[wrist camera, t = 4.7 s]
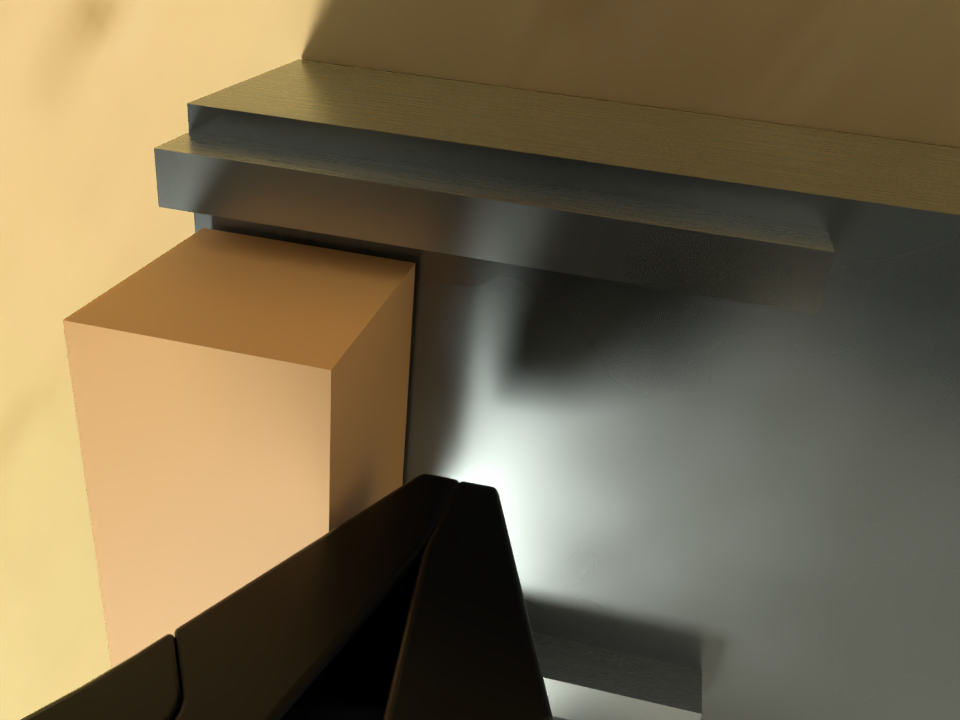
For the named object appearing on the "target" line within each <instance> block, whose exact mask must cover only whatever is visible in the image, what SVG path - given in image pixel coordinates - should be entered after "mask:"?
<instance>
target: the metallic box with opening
mask: <svg viewBox="0 0 960 720" xmlns="http://www.w3.org/2000/svg"><path fill="white" fill-rule="evenodd" d="M187 106H188V122H189V133H187V134H184V135H182V136H180V137H178V138H176V139H173V140H171V141H169V142H167V143H165V144H162V145H160V146H158V147H156V148H154V153H155V165H156V178H157V190H158V203H159V207H164V208H170V209H176V210H182V211H188V212H194V220H195V233H196V232H198V231H200V230H201V229H203V228H207V229H213V230H219V231H225V232H231V233H237V234H243V235H249V236H255V237H261V238H267V239H273V240H279V241H285V242H292V243H298V244H304V245H310V246H316V247H322V248H328V249H334V250H340V251H346V252H352V253H358V254H364V255H370V256H376V257H382V258H388V259H394V260H400V261H406V262H412V263H415V279H414V296H413V313H412V330H411V347H410V364H409V381H408V398H407V415H406V431H405V448H404V465H403V482H402V485H404V484H406V483H407V482H409V481H410V480H412V479H413V478H415V477H417V476H418V475H421V474H431V475H436V476H441V477H446V478H451V479H455V480H457V481H458V482H462V481H466V482H471V483H476V484H481V485H486V486H491V487H494V488H496V489H497V491H498V493H499V497H500V501H501V505H502V509H503V513H504V517H505V521H506V526H507V530H508V534H509V538H510V542H511V546H512V550H513V554H514V559H515V563H516V567H517V571H518V575H519V579H520V583H521V588H522V592H523V596H524V600H525V604H526V608H527V612H528V617H529V621H530V625H531V629H532V633H533V637H534V641H535V646H536V650H537V654H538V658H539V662H540V666H541V670H542V675H543V679H544V683H545V687H546V691H547V695H548V699H549V704H550V708H551V712H552V716H553V720H960V148H954V147H947V146H940V145H932V144H925V143H917V142H910V141H902V140H895V139H887V138H880V137H872V136H865V135H858V134H850V133H843V132H835V131H828V130H820V129H813V128H805V127H798V126H791V125H783V124H776V123H768V122H761V121H753V120H746V119H738V118H731V117H723V116H716V115H709V114H701V113H694V112H686V111H679V110H671V109H664V108H656V107H649V106H641V105H634V104H627V103H619V102H612V101H604V100H597V99H589V98H582V97H574V96H567V95H560V94H552V93H545V92H537V91H530V90H522V89H515V88H507V87H500V86H492V85H485V84H478V83H470V82H463V81H455V80H448V79H440V78H433V77H425V76H418V75H411V74H403V73H396V72H388V71H381V70H373V69H366V68H358V67H351V66H343V65H336V64H329V63H321V62H314V61H306V60H297V61H294V62H292V63H289V64H286V65H284V66H281V67H279V68H276V69H274V70H271V71H269V72H266V73H264V74H261V75H259V76H256V77H253V78H251V79H248V80H246V81H243V82H241V83H238V84H236V85H233V86H231V87H228V88H225V89H223V90H220V91H218V92H215V93H213V94H210V95H208V96H205V97H203V98H200V99H198V100H195V101H192V102H190V103H187Z"/></svg>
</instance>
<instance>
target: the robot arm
mask: <svg viewBox="0 0 960 720" xmlns="http://www.w3.org/2000/svg"><path fill="white" fill-rule="evenodd" d="M21 720H553V716H552V712H551V708H550V704H549V699H548V695H547V691H546V687H545V683H544V679H543V675H542V670H541V666H540V662H539V658H538V654H537V650H536V646H535V641H534V637H533V633H532V629H531V625H530V621H529V617H528V612H527V608H526V604H525V600H524V596H523V592H522V588H521V583H520V579H519V575H518V571H517V567H516V563H515V559H514V554H513V550H512V546H511V542H510V538H509V534H508V530H507V526H506V521H505V517H504V513H503V509H502V505H501V501H500V497H499V493H498V491H497V489H496V488H494V487H491V486H486V485H481V484H476V483H471V482H466V481H462V482H458V481H457V480H455V479H451V478H446V477H441V476H436V475H431V474H421V475H418V476H417V477H415V478H413V479H412V480H410V481H409V482H407V483H406V484H404V485H402V486H401V487H399V488H398V489H396V490H395V491H393V492H391V493H390V494H388V495H387V496H385V497H383V498H382V499H380V500H379V501H377V502H376V503H374V504H372V505H371V506H369V507H368V508H366V509H365V510H363V511H361V512H360V513H358V514H357V515H355V516H353V517H352V518H350V519H349V520H347V521H346V522H344V523H342V524H341V525H339V526H338V527H336V528H335V529H333V530H331V531H330V532H328V533H327V534H325V535H323V536H322V537H320V538H319V539H317V540H316V541H314V542H312V543H311V544H309V545H308V546H306V547H305V548H303V549H301V550H300V551H298V552H297V553H295V554H293V555H292V556H290V557H289V558H287V559H286V560H284V561H282V562H281V563H279V564H278V565H276V566H275V567H273V568H271V569H270V570H268V571H267V572H265V573H263V574H262V575H260V576H259V577H257V578H256V579H254V580H252V581H251V582H249V583H248V584H246V585H245V586H243V587H241V588H240V589H238V590H237V591H235V592H234V593H232V594H230V595H229V596H227V597H226V598H224V599H222V600H221V601H219V602H218V603H216V604H215V605H213V606H211V607H210V608H208V609H207V610H205V611H204V612H202V613H200V614H199V615H197V616H196V617H194V618H192V619H191V620H189V621H188V622H186V623H185V624H183V625H181V626H180V627H178V628H177V629H176V630H175V632H174V636H173V635H172V634H167V635H165V636H163V637H162V638H160V639H159V640H157V641H156V642H154V643H152V644H151V645H149V646H148V647H146V648H145V649H143V650H141V651H140V652H138V653H137V654H135V655H133V656H132V657H130V658H128V659H127V660H125V661H123V662H122V663H120V664H118V665H117V666H115V667H113V668H112V669H110V670H108V671H107V672H105V673H103V674H102V675H100V676H98V677H97V678H95V679H93V680H92V681H90V682H88V683H87V684H85V685H83V686H82V687H80V688H78V689H76V690H74V691H72V692H71V693H69V694H67V695H65V696H63V697H61V698H59V699H58V700H56V701H54V702H52V703H50V704H48V705H47V706H45V707H43V708H41V709H39V710H37V711H35V712H34V713H32V714H30V715H28V716H26V717H24V718H23V719H21Z"/></svg>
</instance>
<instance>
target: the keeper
mask: <svg viewBox="0 0 960 720" xmlns="http://www.w3.org/2000/svg"><path fill="white" fill-rule="evenodd" d="M414 279H415V263H412V262H406V261H400V260H394V259H388V258H382V257H376V256H370V255H364V254H358V253H352V252H346V251H340V250H334V249H328V248H322V247H316V246H310V245H304V244H298V243H292V242H285V241H279V240H273V239H267V238H261V237H255V236H249V235H243V234H237V233H231V232H225V231H219V230H213V229H207V228H203V229H201V230H200V231H198V232H196V233H195V234H193V235H192V236H190V237H189V238H187V239H186V240H184V241H183V242H181V243H180V244H178V245H177V246H175V247H174V248H172V249H171V250H169V251H168V252H166V253H165V254H163V255H161V256H160V257H158V258H157V259H155V260H154V261H152V262H151V263H149V264H148V265H146V266H145V267H143V268H142V269H140V270H139V271H137V272H136V273H134V274H133V275H131V276H129V277H128V278H126V279H125V280H123V281H122V282H120V283H119V284H117V285H116V286H114V287H113V288H111V289H110V290H108V291H107V292H105V293H104V294H102V295H101V296H99V297H98V298H96V299H94V300H93V301H91V302H90V303H88V304H87V305H85V306H84V307H82V308H81V309H79V310H78V311H76V312H75V313H73V314H72V315H70V316H69V317H67V318H66V319H64V320H63V324H64V331H65V338H66V345H67V352H68V359H69V366H70V374H71V381H72V388H73V395H74V402H75V409H76V416H77V424H78V431H79V438H80V445H81V452H82V459H83V466H84V474H85V481H86V488H87V495H88V502H89V509H90V516H91V524H92V531H93V538H94V545H95V552H96V559H97V567H98V574H99V581H100V588H101V595H102V602H103V609H104V617H105V624H106V631H107V638H108V645H109V652H110V659H111V667H112V668H113V667H115V666H117V665H118V664H120V663H122V662H123V661H125V660H127V659H128V658H130V657H132V656H133V655H135V654H137V653H138V652H140V651H141V650H143V649H145V648H146V647H148V646H149V645H151V644H152V643H154V642H156V641H157V640H159V639H160V638H162V637H163V636H165V635H167V634H172V635H173V636H174V632H175V630H176V629H177V628H178V627H180V626H181V625H183V624H185V623H186V622H188V621H189V620H191V619H192V618H194V617H196V616H197V615H199V614H200V613H202V612H204V611H205V610H207V609H208V608H210V607H211V606H213V605H215V604H216V603H218V602H219V601H221V600H222V599H224V598H226V597H227V596H229V595H230V594H232V593H234V592H235V591H237V590H238V589H240V588H241V587H243V586H245V585H246V584H248V583H249V582H251V581H252V580H254V579H256V578H257V577H259V576H260V575H262V574H263V573H265V572H267V571H268V570H270V569H271V568H273V567H275V566H276V565H278V564H279V563H281V562H282V561H284V560H286V559H287V558H289V557H290V556H292V555H293V554H295V553H297V552H298V551H300V550H301V549H303V548H305V547H306V546H308V545H309V544H311V543H312V542H314V541H316V540H317V539H319V538H320V537H322V536H323V535H325V534H327V533H328V532H330V531H331V530H333V529H335V528H336V527H338V526H339V525H341V524H342V523H344V522H346V521H347V520H349V519H350V518H352V517H353V516H355V515H357V514H358V513H360V512H361V511H363V510H365V509H366V508H368V507H369V506H371V505H372V504H374V503H376V502H377V501H379V500H380V499H382V498H383V497H385V496H387V495H388V494H390V493H391V492H393V491H395V490H396V489H398V488H399V487H401V486H402V482H403V465H404V448H405V431H406V415H407V398H408V381H409V364H410V347H411V330H412V313H413V296H414Z"/></svg>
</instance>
